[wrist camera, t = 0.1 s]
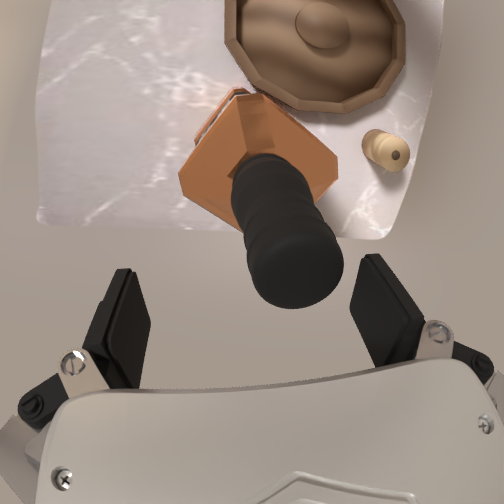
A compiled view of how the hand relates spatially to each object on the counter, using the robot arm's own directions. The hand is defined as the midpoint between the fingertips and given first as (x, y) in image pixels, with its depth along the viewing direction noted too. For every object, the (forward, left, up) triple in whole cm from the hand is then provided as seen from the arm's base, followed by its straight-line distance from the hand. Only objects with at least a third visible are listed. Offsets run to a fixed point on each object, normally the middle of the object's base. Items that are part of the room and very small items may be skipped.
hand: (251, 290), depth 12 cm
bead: (0, +22, -31) cm, 38 cm away
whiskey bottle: (-1, +2, -31) cm, 31 cm away
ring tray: (-17, +12, -31) cm, 37 cm away
